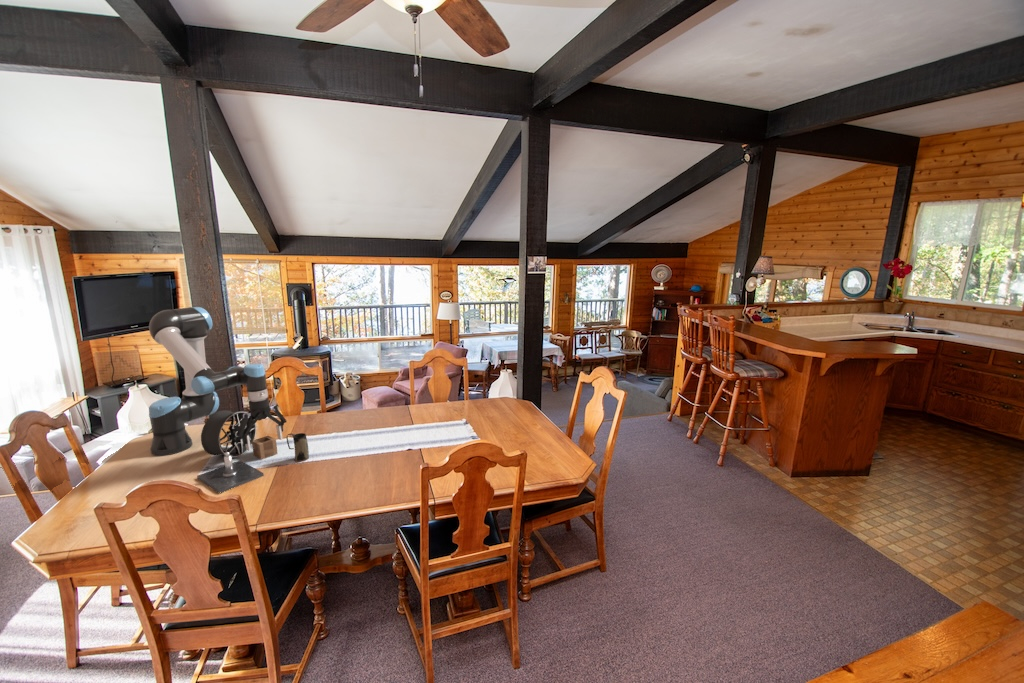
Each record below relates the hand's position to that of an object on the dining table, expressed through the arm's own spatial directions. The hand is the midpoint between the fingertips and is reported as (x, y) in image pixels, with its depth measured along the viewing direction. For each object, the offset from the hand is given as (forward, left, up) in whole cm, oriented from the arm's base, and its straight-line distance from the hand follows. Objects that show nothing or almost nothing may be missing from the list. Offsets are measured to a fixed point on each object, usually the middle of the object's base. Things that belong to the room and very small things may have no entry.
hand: (265, 444), depth 189 cm
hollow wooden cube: (0, 0, -5) cm, 5 cm away
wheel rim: (-13, -8, -5) cm, 16 cm away
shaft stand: (+9, -18, -5) cm, 21 cm away
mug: (+17, +6, -5) cm, 18 cm away
